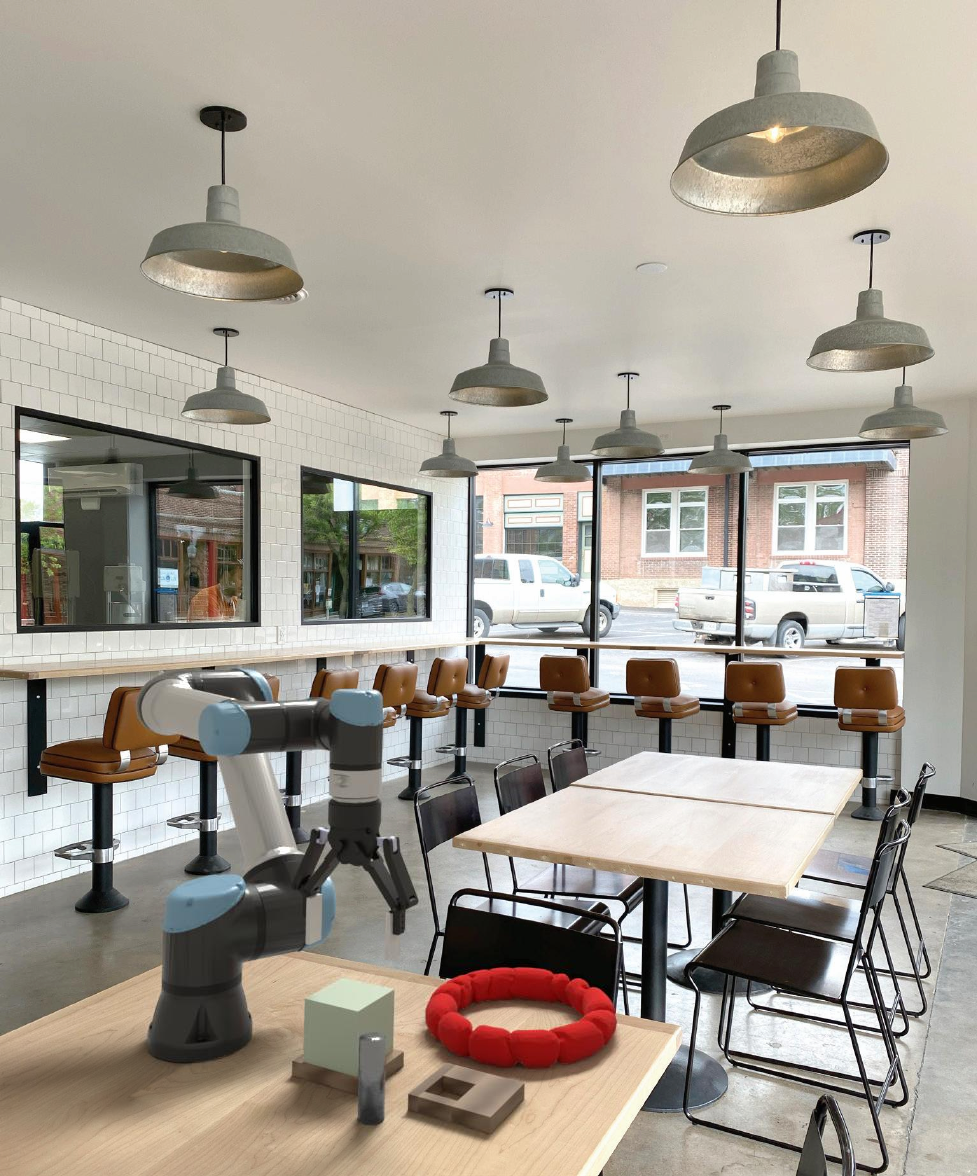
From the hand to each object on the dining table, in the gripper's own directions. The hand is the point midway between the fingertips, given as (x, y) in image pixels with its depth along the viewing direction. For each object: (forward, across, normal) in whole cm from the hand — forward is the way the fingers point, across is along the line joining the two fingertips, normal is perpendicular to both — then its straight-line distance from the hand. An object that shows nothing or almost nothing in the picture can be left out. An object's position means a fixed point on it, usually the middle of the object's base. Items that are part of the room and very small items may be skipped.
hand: (352, 949), depth 131 cm
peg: (+17, +10, -9) cm, 21 cm away
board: (+17, 0, 0) cm, 17 cm away
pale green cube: (+15, 0, 0) cm, 15 cm away
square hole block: (+17, +19, 0) cm, 25 cm away
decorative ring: (+17, +15, +25) cm, 34 cm away
